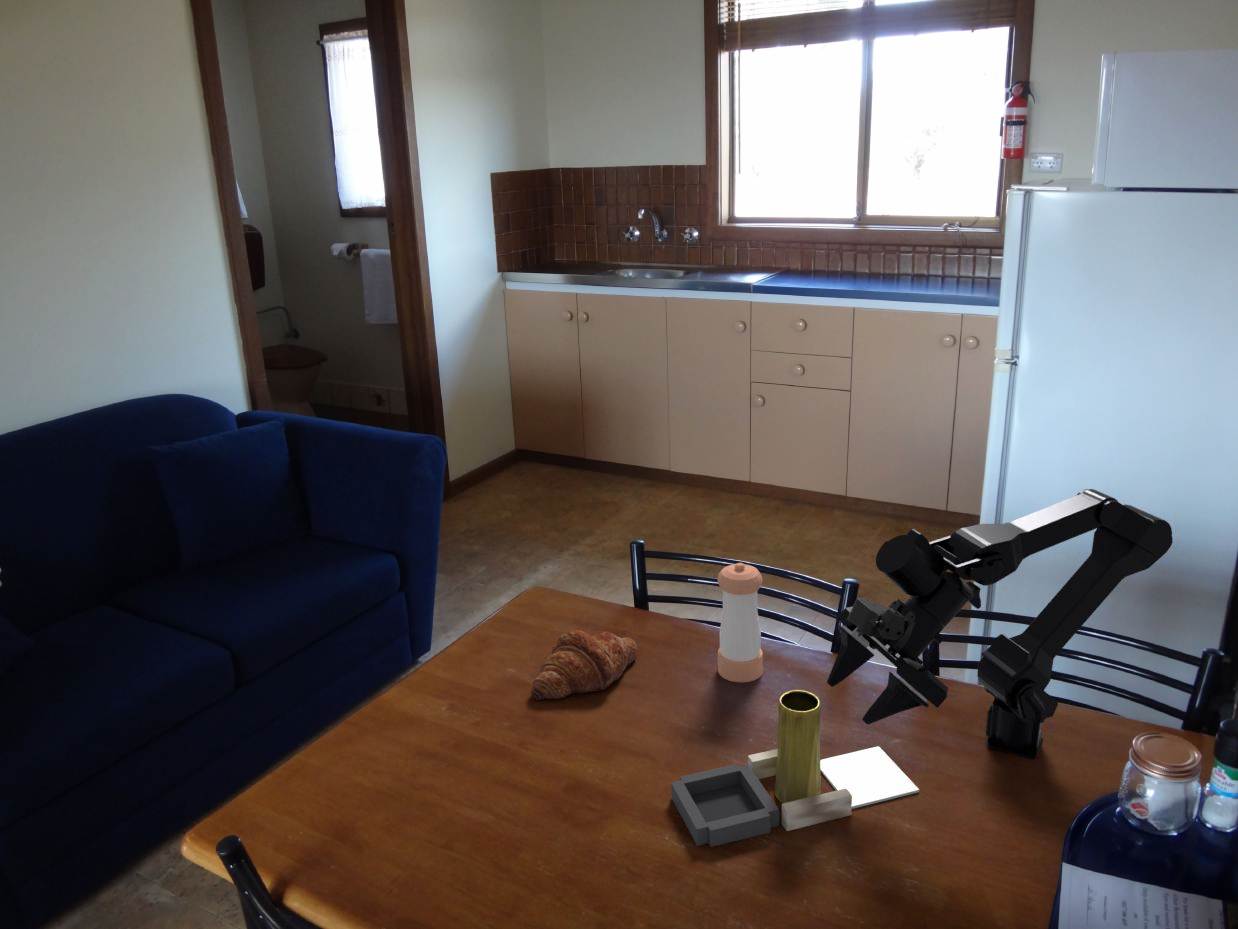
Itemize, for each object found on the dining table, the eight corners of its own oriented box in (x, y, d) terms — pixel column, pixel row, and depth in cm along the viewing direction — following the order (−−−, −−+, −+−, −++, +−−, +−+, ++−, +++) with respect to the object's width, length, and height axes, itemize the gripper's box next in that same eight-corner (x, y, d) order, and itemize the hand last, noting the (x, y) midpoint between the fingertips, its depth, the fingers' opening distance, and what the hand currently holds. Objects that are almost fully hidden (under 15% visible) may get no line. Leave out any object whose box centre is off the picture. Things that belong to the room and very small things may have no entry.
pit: (746, 777, 129) (746, 761, 128) (781, 829, 119) (781, 813, 118) (669, 794, 126) (669, 779, 126) (699, 850, 116) (698, 833, 115)
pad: (878, 748, 134) (878, 746, 134) (919, 792, 125) (919, 789, 124) (814, 763, 131) (814, 761, 131) (850, 809, 122) (850, 806, 122)
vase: (821, 811, 122) (824, 716, 117) (773, 807, 123) (774, 712, 119) (821, 781, 128) (824, 689, 123) (775, 777, 129) (776, 686, 124)
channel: (807, 760, 132) (808, 742, 131) (851, 815, 121) (852, 795, 120) (747, 774, 130) (747, 755, 129) (786, 831, 119) (787, 811, 118)
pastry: (552, 648, 165) (549, 607, 162) (639, 650, 163) (638, 609, 160) (530, 702, 149) (526, 657, 147) (627, 706, 147) (625, 661, 144)
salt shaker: (765, 682, 151) (766, 573, 145) (719, 683, 151) (718, 574, 145) (759, 658, 158) (760, 553, 152) (716, 659, 158) (714, 555, 152)
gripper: (852, 551, 128) (775, 638, 128) (932, 612, 110) (844, 712, 111) (900, 594, 132) (826, 678, 133) (985, 659, 115) (900, 755, 116)
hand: (846, 702), depth 123 cm, fingers open, 9 cm apart
